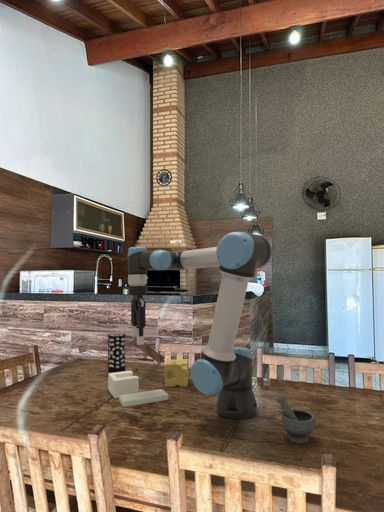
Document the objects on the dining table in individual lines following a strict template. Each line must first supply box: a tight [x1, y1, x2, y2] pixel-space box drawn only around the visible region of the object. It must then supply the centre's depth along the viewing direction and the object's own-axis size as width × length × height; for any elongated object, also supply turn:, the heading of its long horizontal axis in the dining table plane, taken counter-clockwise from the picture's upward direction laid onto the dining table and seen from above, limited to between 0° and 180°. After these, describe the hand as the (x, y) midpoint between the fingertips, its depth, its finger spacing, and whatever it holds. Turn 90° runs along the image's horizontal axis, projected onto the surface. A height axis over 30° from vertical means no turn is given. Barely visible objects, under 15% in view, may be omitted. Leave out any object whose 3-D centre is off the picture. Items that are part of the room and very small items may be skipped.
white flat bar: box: [118, 388, 169, 408], centre depth 144 cm, size 8×18×2 cm, turn 115°
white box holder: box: [107, 370, 140, 399], centre depth 154 cm, size 10×12×7 cm
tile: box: [130, 337, 165, 365], centre depth 148 cm, size 14×5×3 cm
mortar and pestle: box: [276, 395, 316, 444], centre depth 111 cm, size 11×9×12 cm
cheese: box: [164, 358, 189, 388], centre depth 166 cm, size 10×11×10 cm
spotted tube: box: [107, 332, 126, 374], centre depth 178 cm, size 8×8×20 cm
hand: (138, 343), depth 146 cm, fingers closed on tile, 5 cm apart
